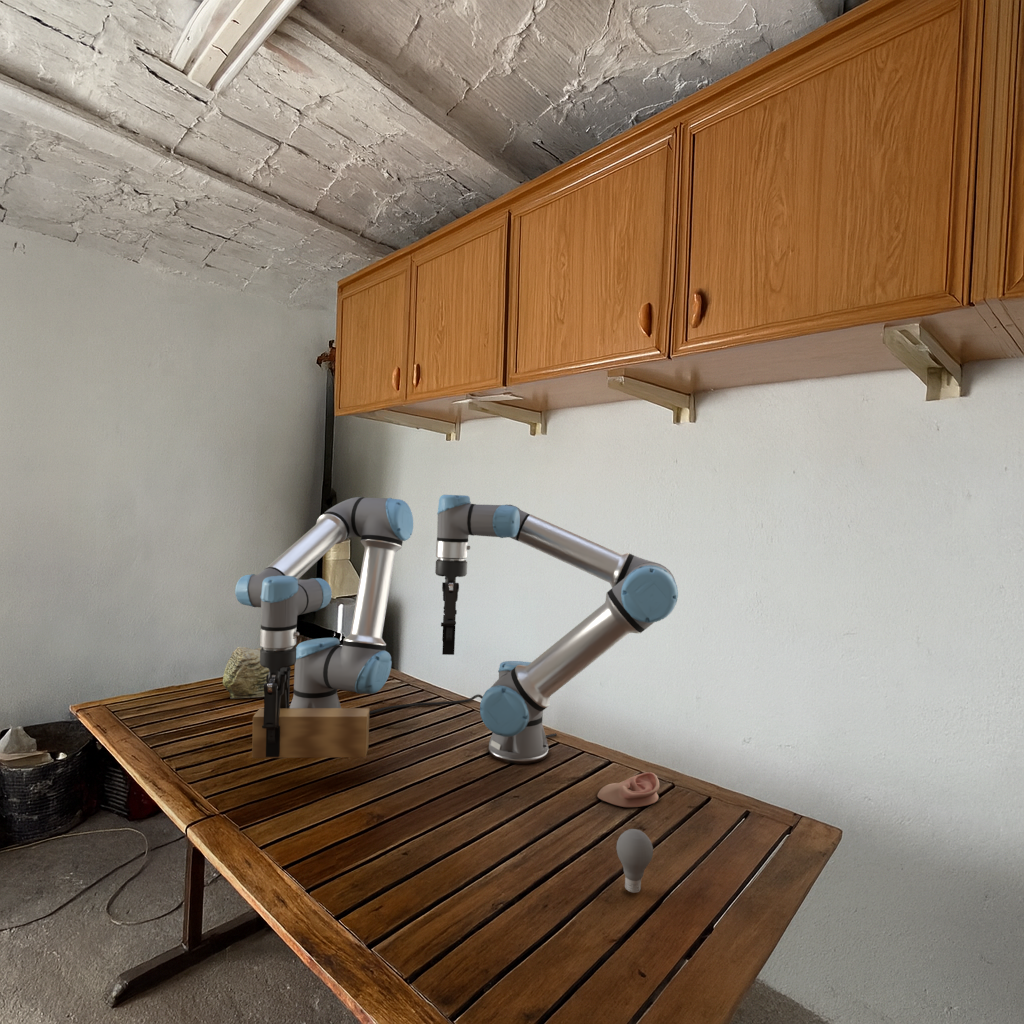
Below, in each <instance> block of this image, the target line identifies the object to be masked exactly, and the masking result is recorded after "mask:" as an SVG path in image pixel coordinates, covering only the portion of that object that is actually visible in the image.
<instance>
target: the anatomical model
mask: <svg viewBox="0 0 1024 1024" xmlns="http://www.w3.org/2000/svg"><path fill="white" fill-rule="evenodd" d="M659 789H660V781H659V777H658V776H657V774H655V773H654V772H651V771H647V772H642V773H639V774H636V775H633V776H631V777H629V778H627V779H625V780H622V781H621V782H612V783H609V784H606V785H604V786H602V788H600V790H599V791H598V793H597V794H596V795H597V798H598V799H599V800H601V801H603V802H606V803H608V804H611V805H614V806H618V807H621V808H622V807H623V808H638V807H646V806H649V805H653V804H655V803H656V802H658V800H659V795H658V791H659Z"/></svg>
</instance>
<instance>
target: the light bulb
mask: <svg viewBox="0 0 1024 1024" xmlns="http://www.w3.org/2000/svg"><path fill="white" fill-rule="evenodd" d="M615 849H616V854H617V857H618V859H619V861H620V863H621V865H622V867H623V873H624V874H623V875H624V876H625V878H624V888H625V890H627V891H628V892H630V893H634V894H635V893H639V892H640V891H641V889H642V887H641V886H642V879H643V877H644V875H645V871H646V868H647V867H648V866H649V864H650V863H651V861H652V859H653V855H654V847H653V843H652V841H651V838H649V836H648V835H647V834H646V833H645V832H643V831H642V830H641V829H636V828H629V829H627V830H625V831H623V832H622V833H621V834H620V835H619V837H618V839H617V841H616V847H615Z"/></svg>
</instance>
